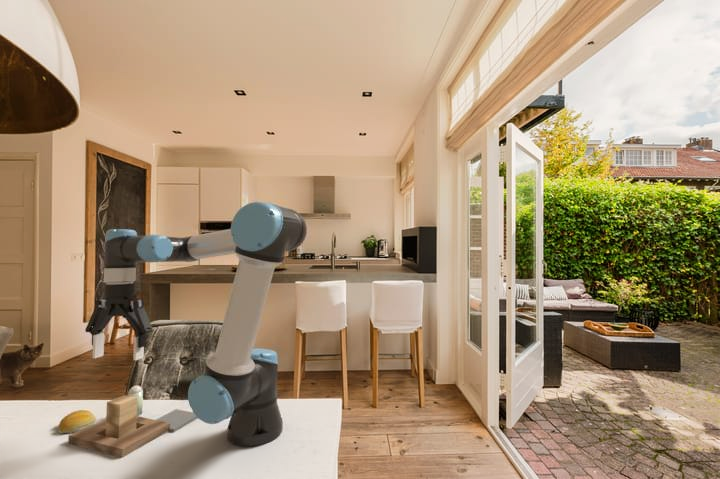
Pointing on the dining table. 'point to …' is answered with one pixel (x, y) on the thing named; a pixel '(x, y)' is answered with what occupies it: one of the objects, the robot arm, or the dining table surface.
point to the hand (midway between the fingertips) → (118, 358)
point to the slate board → (178, 419)
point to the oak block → (121, 416)
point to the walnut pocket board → (124, 445)
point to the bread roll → (76, 421)
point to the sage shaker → (137, 392)
